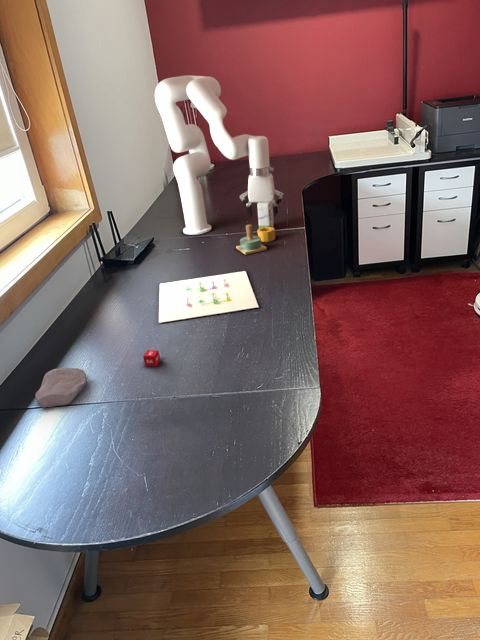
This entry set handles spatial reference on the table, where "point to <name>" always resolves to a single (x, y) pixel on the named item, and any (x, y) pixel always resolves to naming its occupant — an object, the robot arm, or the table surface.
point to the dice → (151, 358)
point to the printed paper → (205, 296)
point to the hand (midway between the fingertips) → (262, 215)
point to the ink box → (265, 214)
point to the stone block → (60, 387)
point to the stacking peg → (250, 243)
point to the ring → (266, 234)
